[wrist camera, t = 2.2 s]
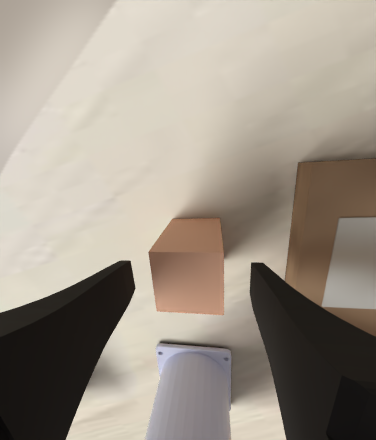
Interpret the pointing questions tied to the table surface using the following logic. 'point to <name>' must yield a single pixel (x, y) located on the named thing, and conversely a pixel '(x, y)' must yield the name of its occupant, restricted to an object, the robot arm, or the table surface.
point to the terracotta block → (189, 267)
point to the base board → (336, 239)
